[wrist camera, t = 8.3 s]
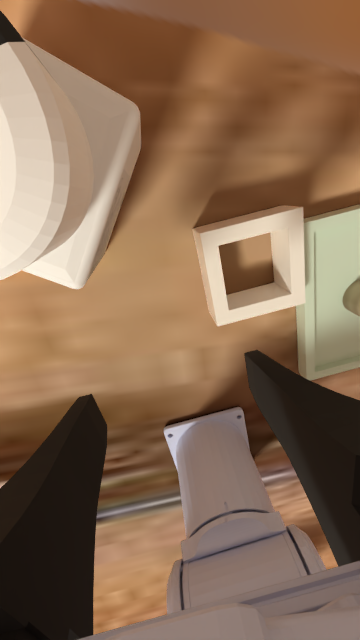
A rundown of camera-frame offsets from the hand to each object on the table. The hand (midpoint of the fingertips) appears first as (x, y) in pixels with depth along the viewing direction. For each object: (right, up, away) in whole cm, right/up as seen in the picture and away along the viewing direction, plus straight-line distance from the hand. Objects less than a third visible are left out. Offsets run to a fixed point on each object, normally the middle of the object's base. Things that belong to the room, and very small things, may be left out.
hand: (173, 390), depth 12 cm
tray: (+15, +6, +10) cm, 19 cm away
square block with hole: (+5, +8, +8) cm, 12 cm away
